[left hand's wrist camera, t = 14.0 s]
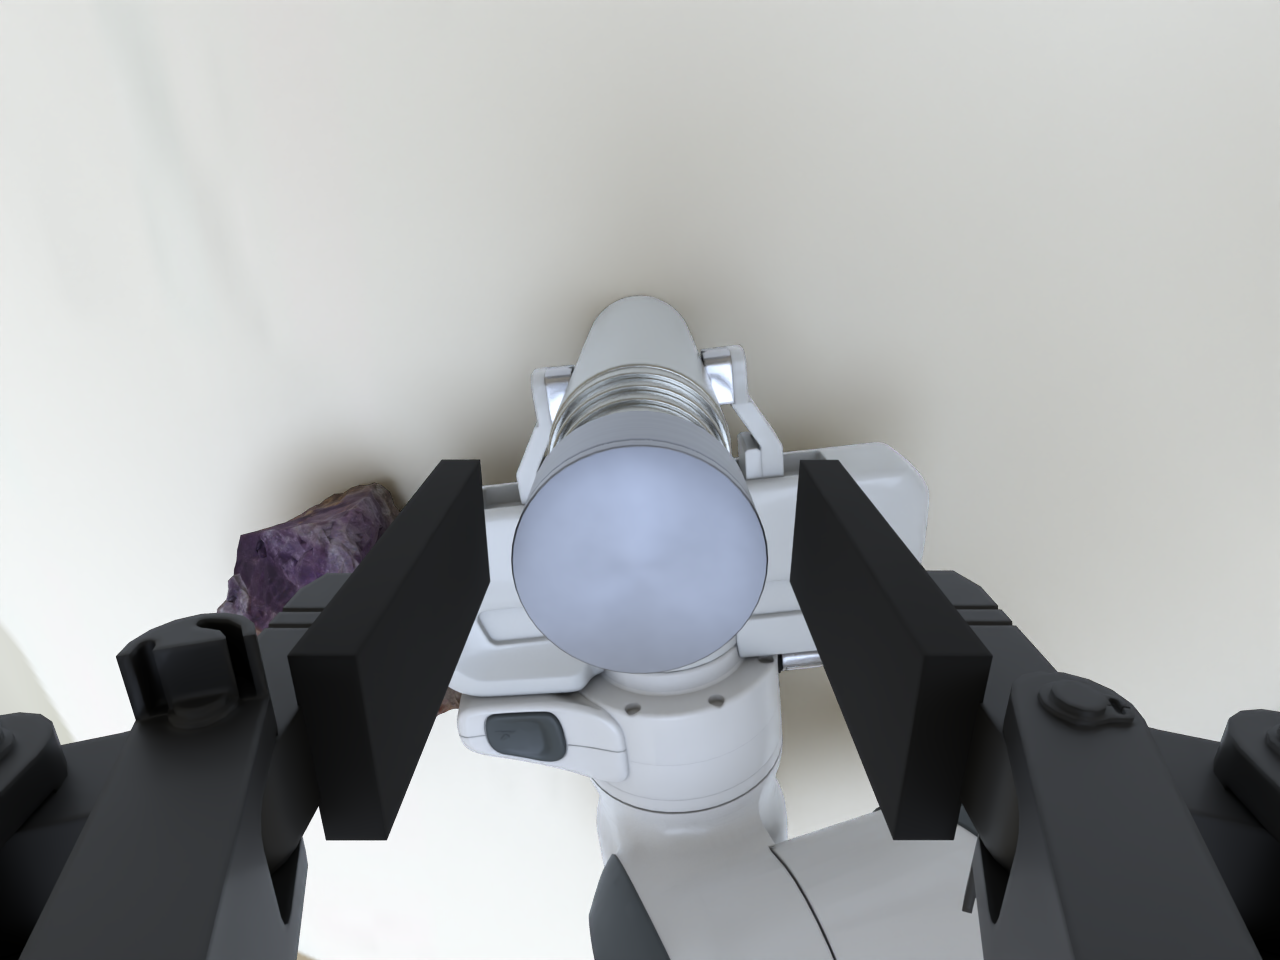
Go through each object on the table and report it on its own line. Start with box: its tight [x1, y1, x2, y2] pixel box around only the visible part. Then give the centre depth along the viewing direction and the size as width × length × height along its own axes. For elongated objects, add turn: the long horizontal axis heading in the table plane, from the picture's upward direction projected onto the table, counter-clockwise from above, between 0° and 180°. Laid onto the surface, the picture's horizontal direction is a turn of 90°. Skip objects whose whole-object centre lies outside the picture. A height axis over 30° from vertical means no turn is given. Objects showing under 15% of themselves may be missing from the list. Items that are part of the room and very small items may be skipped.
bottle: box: [547, 296, 732, 456], centre depth 22 cm, size 5×5×20 cm
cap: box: [511, 411, 768, 674], centre depth 14 cm, size 5×5×2 cm
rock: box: [217, 483, 462, 717], centre depth 32 cm, size 12×9×10 cm
